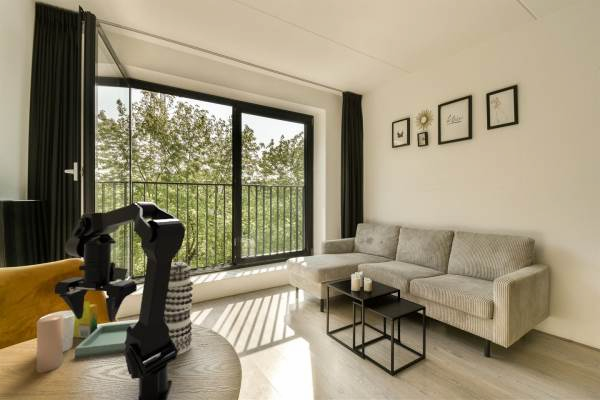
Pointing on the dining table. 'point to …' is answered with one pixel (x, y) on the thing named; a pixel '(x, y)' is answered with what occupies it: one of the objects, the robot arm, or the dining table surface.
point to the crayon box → (86, 321)
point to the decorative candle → (179, 306)
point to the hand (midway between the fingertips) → (95, 319)
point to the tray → (104, 340)
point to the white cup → (66, 327)
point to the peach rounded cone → (49, 343)
